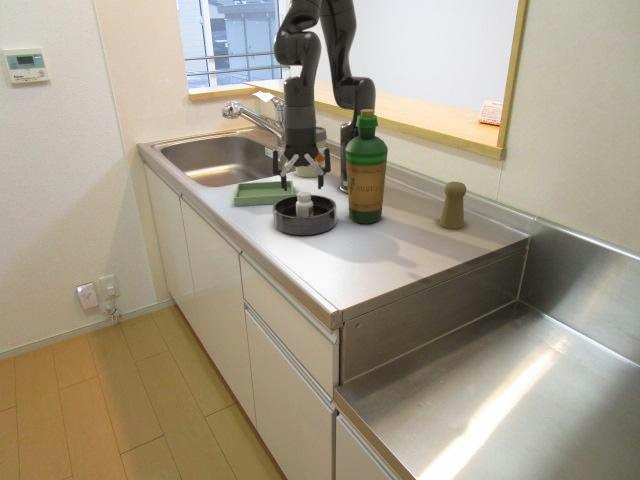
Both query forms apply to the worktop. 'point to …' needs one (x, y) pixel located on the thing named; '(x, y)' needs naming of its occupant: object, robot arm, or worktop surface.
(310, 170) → the reusable coffee cup
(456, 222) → the cork
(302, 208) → the pill bottle
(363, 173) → the bottle
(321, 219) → the pan
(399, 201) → the worktop surface
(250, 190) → the tray
